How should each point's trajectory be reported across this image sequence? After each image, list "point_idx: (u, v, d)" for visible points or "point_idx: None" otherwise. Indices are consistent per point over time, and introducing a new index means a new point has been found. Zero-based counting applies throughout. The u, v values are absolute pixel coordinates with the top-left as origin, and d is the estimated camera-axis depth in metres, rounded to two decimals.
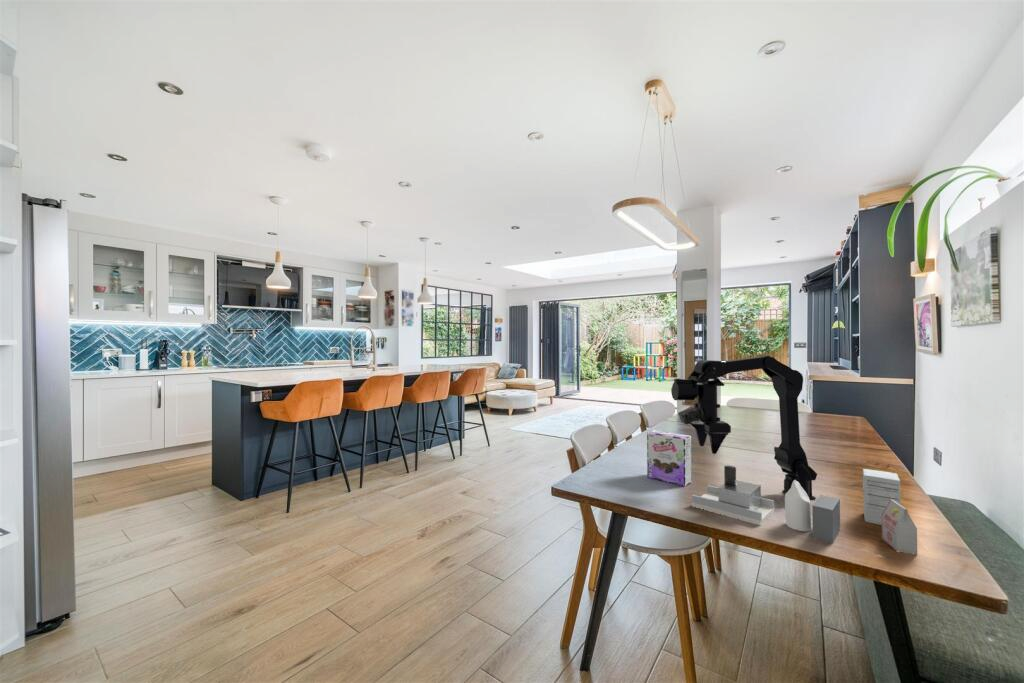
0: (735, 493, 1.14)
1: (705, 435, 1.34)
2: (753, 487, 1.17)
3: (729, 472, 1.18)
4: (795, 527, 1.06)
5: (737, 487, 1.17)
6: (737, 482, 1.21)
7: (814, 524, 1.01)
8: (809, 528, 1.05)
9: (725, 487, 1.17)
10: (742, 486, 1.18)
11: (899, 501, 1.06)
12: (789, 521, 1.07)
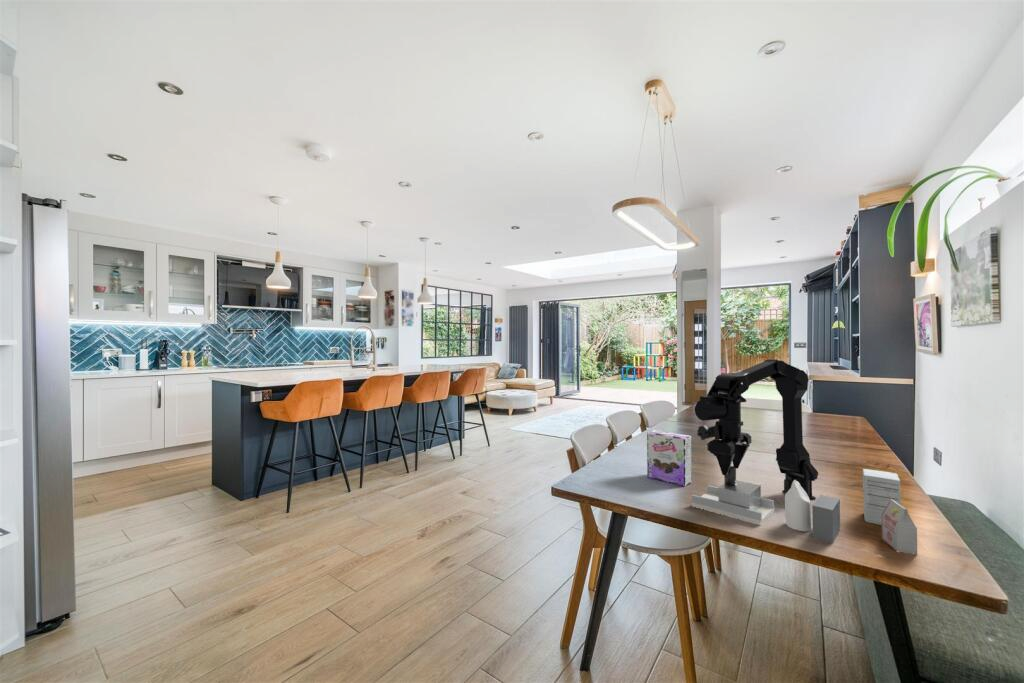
0: (735, 493, 1.14)
1: (740, 457, 1.22)
2: (753, 487, 1.17)
3: (729, 472, 1.18)
4: (795, 527, 1.06)
5: (737, 487, 1.17)
6: (737, 482, 1.21)
7: (814, 524, 1.01)
8: (809, 528, 1.05)
9: (725, 487, 1.17)
10: (742, 486, 1.18)
11: (899, 501, 1.06)
12: (789, 521, 1.07)
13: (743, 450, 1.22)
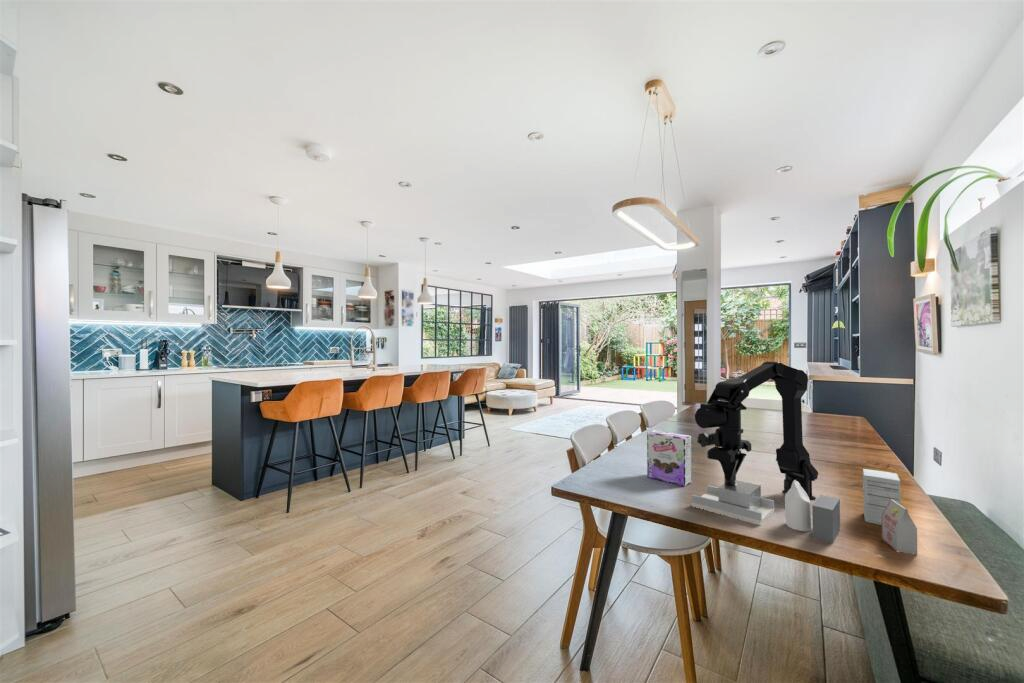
0: (735, 493, 1.14)
1: (737, 466, 1.20)
2: (753, 487, 1.17)
3: None
4: (795, 527, 1.06)
5: (737, 487, 1.17)
6: (737, 482, 1.21)
7: (814, 524, 1.01)
8: (809, 528, 1.05)
9: (725, 487, 1.17)
10: (742, 486, 1.18)
11: (899, 501, 1.06)
12: (789, 521, 1.07)
13: (740, 459, 1.20)
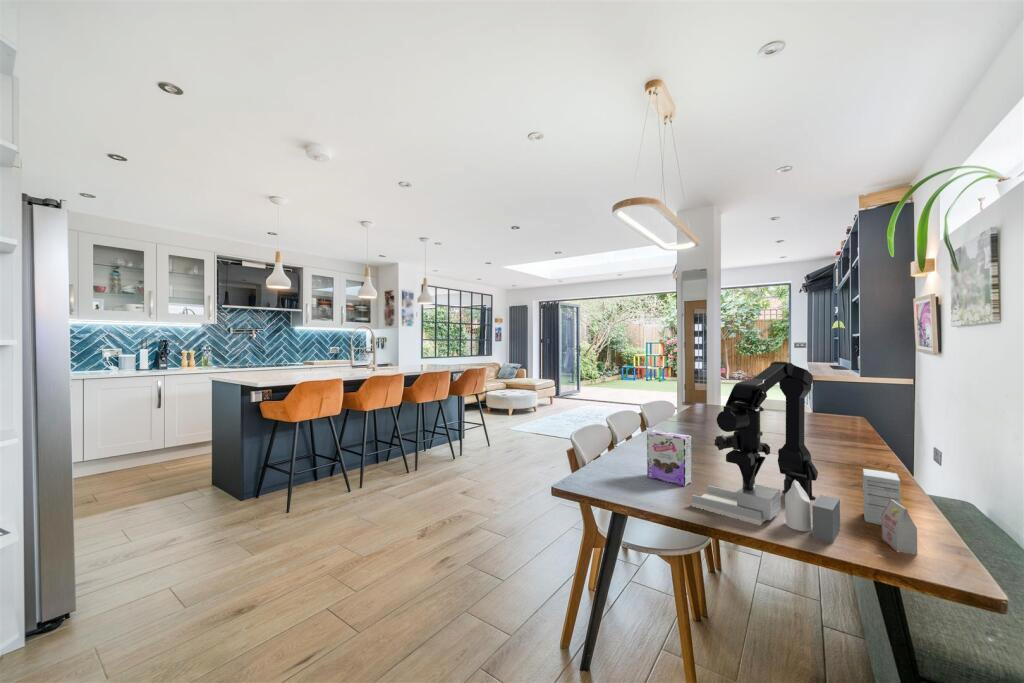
0: (755, 498, 1.10)
1: (755, 470, 1.16)
2: (773, 491, 1.13)
3: None
4: (795, 527, 1.06)
5: (757, 491, 1.14)
6: (756, 486, 1.18)
7: (814, 524, 1.01)
8: (809, 528, 1.05)
9: (744, 491, 1.14)
10: (761, 490, 1.14)
11: (899, 501, 1.06)
12: (789, 521, 1.07)
13: (759, 463, 1.16)
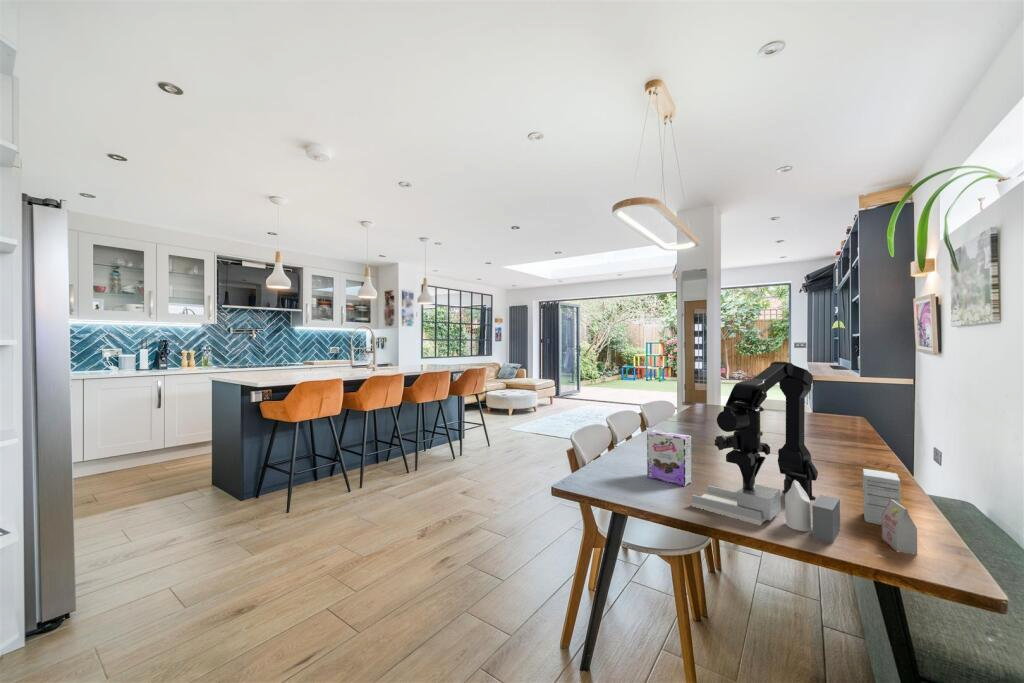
0: (755, 498, 1.10)
1: (755, 470, 1.16)
2: (773, 491, 1.13)
3: None
4: (795, 527, 1.06)
5: (757, 491, 1.14)
6: (756, 486, 1.18)
7: (814, 524, 1.01)
8: (809, 528, 1.05)
9: (744, 491, 1.14)
10: (761, 490, 1.14)
11: (899, 501, 1.06)
12: (789, 521, 1.07)
13: (759, 463, 1.16)
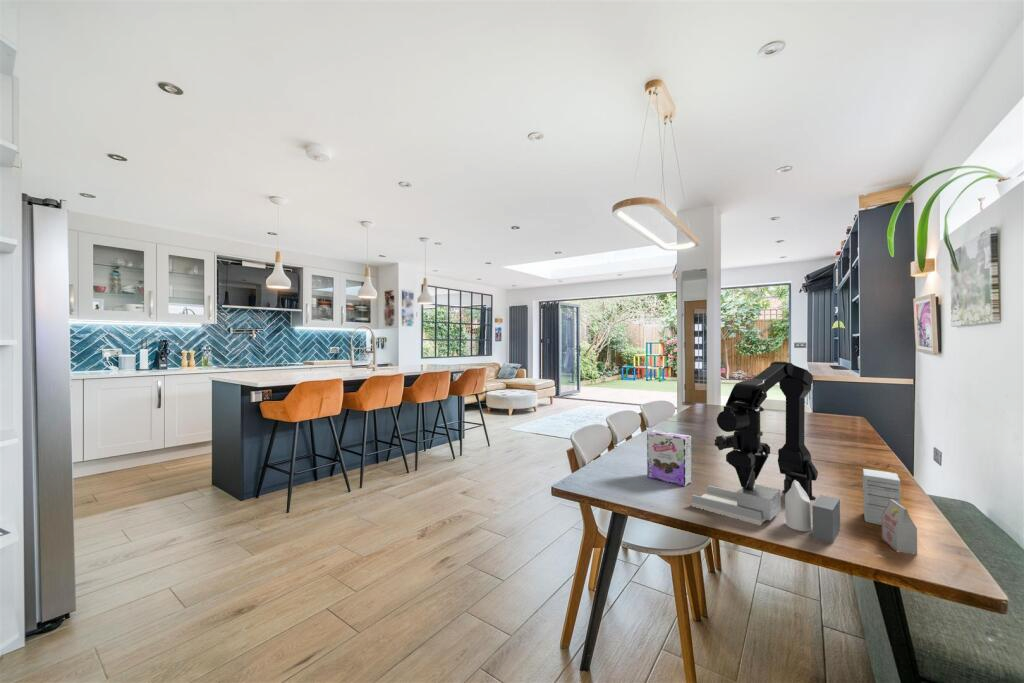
0: (755, 498, 1.10)
1: (759, 468, 1.18)
2: (773, 491, 1.13)
3: None
4: (795, 527, 1.06)
5: (757, 491, 1.14)
6: (756, 486, 1.18)
7: (814, 524, 1.01)
8: (809, 528, 1.05)
9: (744, 491, 1.14)
10: (761, 490, 1.14)
11: (899, 501, 1.06)
12: (789, 521, 1.07)
13: (762, 461, 1.18)
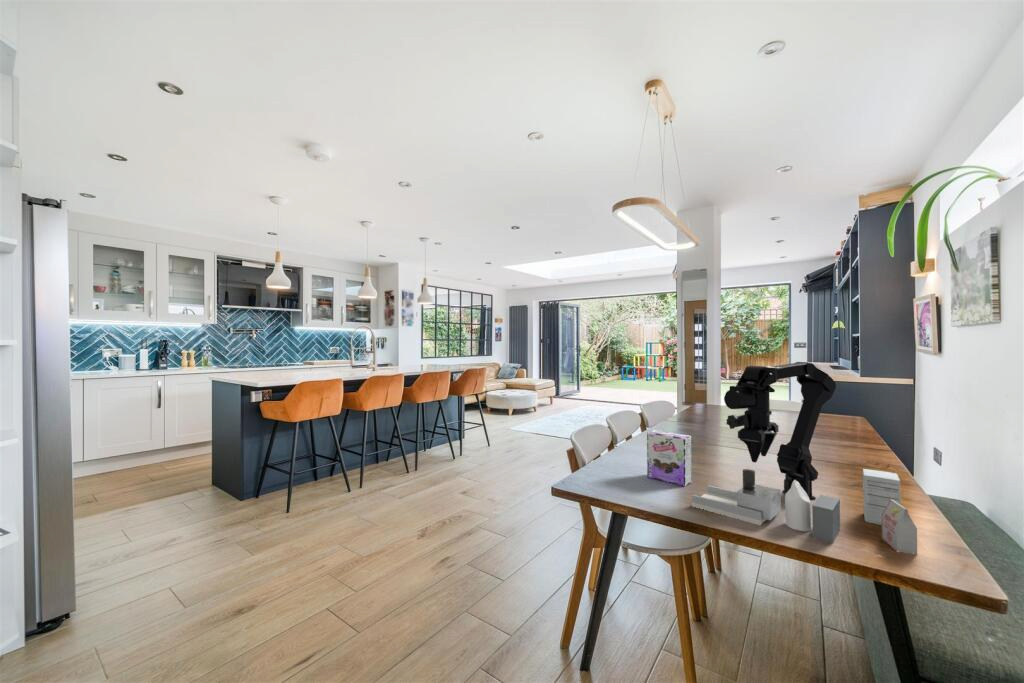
0: (755, 498, 1.10)
1: (768, 445, 1.27)
2: (773, 491, 1.13)
3: (748, 476, 1.15)
4: (795, 527, 1.06)
5: (757, 491, 1.14)
6: (756, 486, 1.18)
7: (814, 524, 1.01)
8: (809, 528, 1.05)
9: (744, 491, 1.14)
10: (761, 490, 1.14)
11: (899, 501, 1.06)
12: (789, 521, 1.07)
13: (771, 438, 1.26)
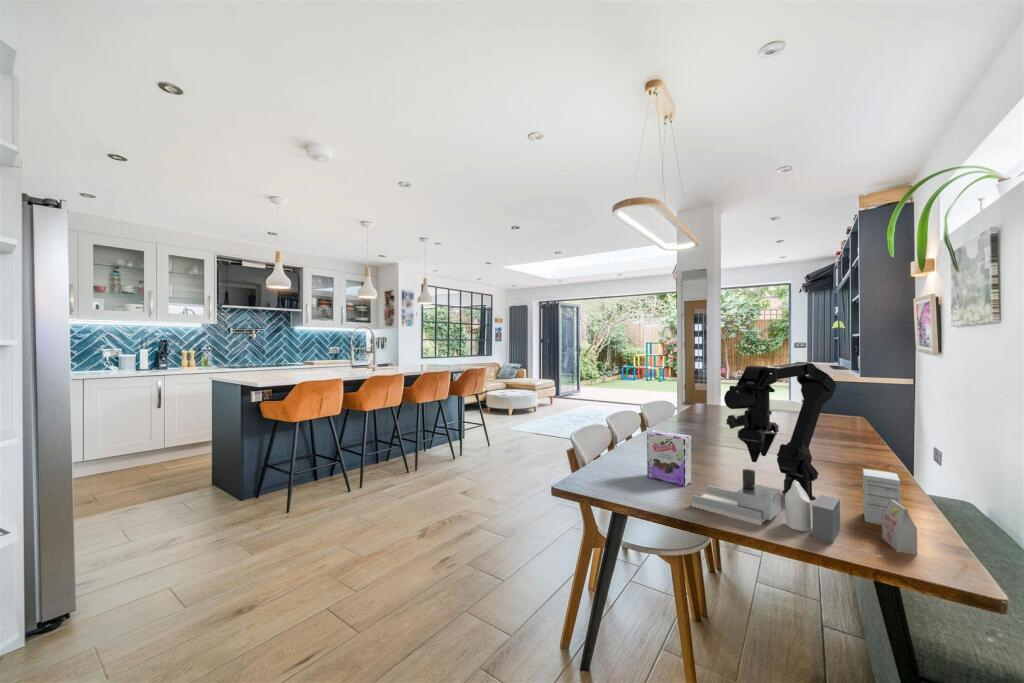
0: (755, 498, 1.10)
1: (768, 445, 1.27)
2: (773, 491, 1.13)
3: (748, 476, 1.15)
4: (795, 527, 1.06)
5: (757, 491, 1.14)
6: (756, 486, 1.18)
7: (814, 524, 1.01)
8: (809, 528, 1.05)
9: (744, 491, 1.14)
10: (761, 490, 1.14)
11: (899, 501, 1.06)
12: (789, 521, 1.07)
13: (771, 438, 1.26)
